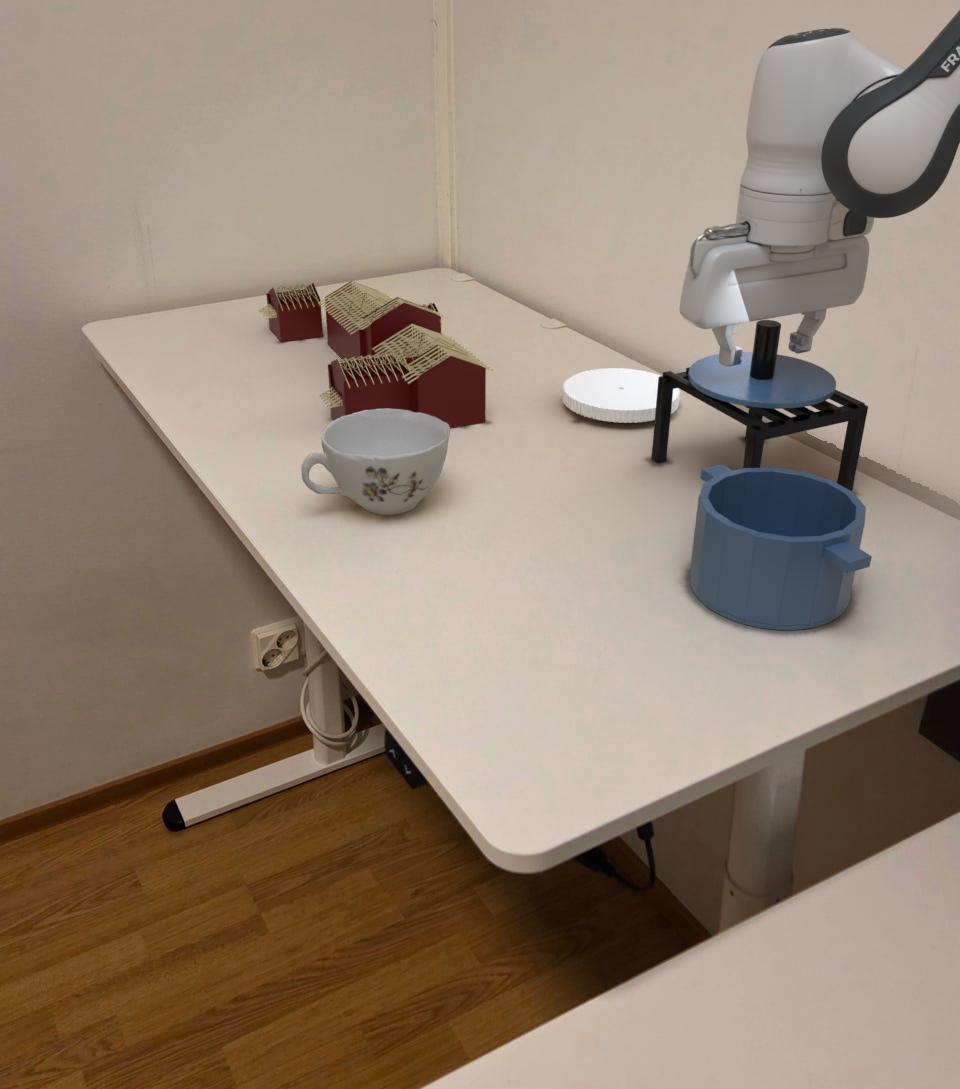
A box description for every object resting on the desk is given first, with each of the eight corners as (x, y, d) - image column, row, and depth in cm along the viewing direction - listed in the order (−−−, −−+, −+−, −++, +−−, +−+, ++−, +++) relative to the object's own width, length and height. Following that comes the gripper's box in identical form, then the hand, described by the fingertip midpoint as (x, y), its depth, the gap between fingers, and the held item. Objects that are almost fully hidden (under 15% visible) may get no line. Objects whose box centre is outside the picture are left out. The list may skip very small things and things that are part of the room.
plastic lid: (579, 435, 126) (580, 414, 125) (549, 391, 138) (550, 371, 137) (695, 426, 129) (697, 405, 128) (655, 383, 141) (657, 364, 140)
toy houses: (506, 418, 130) (508, 335, 125) (339, 446, 123) (334, 359, 118) (381, 312, 166) (379, 244, 161) (247, 329, 159) (239, 258, 154)
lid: (770, 354, 121) (778, 294, 118) (865, 399, 109) (878, 334, 106) (659, 375, 115) (665, 312, 112) (748, 424, 104) (757, 356, 100)
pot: (759, 525, 107) (771, 445, 103) (905, 622, 93) (926, 533, 88) (643, 556, 102) (650, 473, 98) (778, 663, 87) (793, 571, 83)
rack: (752, 436, 126) (764, 353, 121) (852, 493, 114) (869, 402, 109) (651, 459, 121) (658, 372, 116) (743, 521, 108) (756, 426, 103)
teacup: (423, 467, 119) (421, 397, 115) (471, 517, 109) (471, 442, 105) (287, 493, 113) (280, 421, 109) (324, 547, 103) (318, 470, 99)
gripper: (715, 236, 97) (699, 384, 104) (888, 214, 105) (863, 352, 112) (673, 221, 102) (661, 363, 109) (842, 201, 110) (820, 334, 117)
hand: (764, 357), depth 111 cm, fingers open, 7 cm apart
